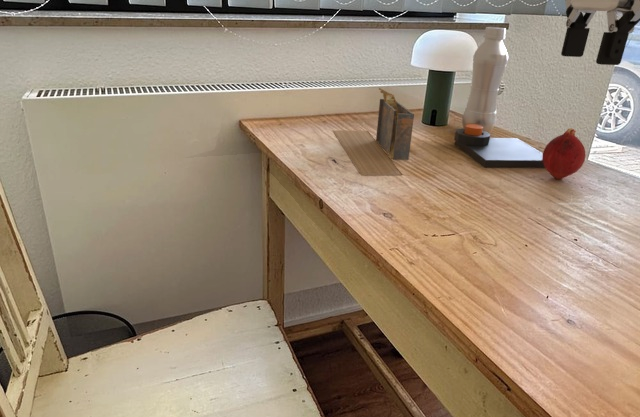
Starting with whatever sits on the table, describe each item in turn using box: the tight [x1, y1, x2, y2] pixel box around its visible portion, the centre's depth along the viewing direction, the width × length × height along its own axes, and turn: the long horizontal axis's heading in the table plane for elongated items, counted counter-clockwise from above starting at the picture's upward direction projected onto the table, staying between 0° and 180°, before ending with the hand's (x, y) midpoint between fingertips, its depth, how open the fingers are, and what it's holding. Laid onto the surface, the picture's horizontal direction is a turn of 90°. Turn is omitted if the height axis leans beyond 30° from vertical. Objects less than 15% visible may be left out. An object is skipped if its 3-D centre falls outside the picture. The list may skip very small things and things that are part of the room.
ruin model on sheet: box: [332, 87, 415, 176], centre depth 84 cm, size 25×16×10 cm, turn 8°
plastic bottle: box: [461, 26, 509, 134], centre depth 95 cm, size 6×7×20 cm
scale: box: [453, 127, 546, 169], centre depth 85 cm, size 13×14×3 cm
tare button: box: [464, 124, 483, 136], centre depth 87 cm, size 3×3×2 cm
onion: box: [542, 127, 586, 180], centre depth 74 cm, size 6×6×8 cm
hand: (588, 59), depth 69 cm, fingers open, 7 cm apart
